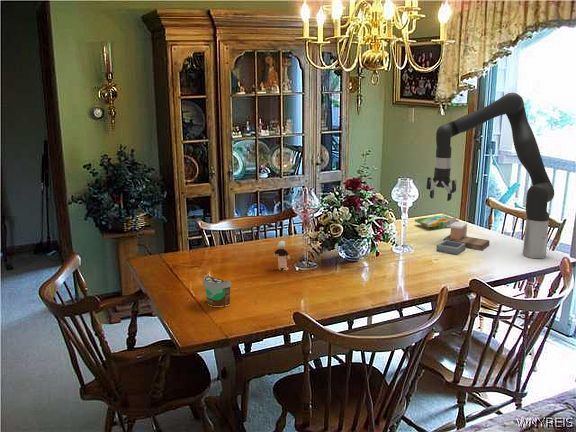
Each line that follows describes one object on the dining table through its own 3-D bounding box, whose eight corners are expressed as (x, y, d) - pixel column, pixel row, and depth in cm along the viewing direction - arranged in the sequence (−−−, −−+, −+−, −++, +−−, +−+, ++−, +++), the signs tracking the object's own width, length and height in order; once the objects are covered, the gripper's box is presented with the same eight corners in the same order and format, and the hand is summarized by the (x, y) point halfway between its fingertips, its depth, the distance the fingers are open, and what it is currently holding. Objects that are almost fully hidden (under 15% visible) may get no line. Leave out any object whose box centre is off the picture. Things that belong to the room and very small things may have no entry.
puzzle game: (458, 218, 297) (428, 223, 290) (458, 227, 298) (427, 231, 291) (444, 213, 308) (414, 217, 300) (444, 221, 309) (414, 226, 301)
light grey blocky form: (466, 236, 272) (467, 219, 270) (460, 240, 266) (461, 222, 263) (452, 234, 276) (453, 217, 274) (446, 238, 270) (447, 220, 268)
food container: (196, 303, 204) (195, 278, 202) (208, 298, 209) (207, 273, 206) (220, 312, 197) (219, 286, 194) (232, 306, 202) (231, 280, 199)
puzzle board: (489, 245, 267) (489, 240, 266) (482, 250, 259) (482, 245, 259) (451, 238, 278) (451, 233, 277) (443, 243, 270) (443, 238, 270)
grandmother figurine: (291, 268, 239) (291, 240, 236) (289, 271, 236) (289, 243, 232) (274, 266, 241) (274, 239, 238) (272, 269, 238) (271, 241, 234)
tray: (465, 249, 261) (465, 243, 260) (457, 255, 253) (457, 249, 253) (444, 245, 267) (445, 239, 266) (436, 251, 259) (436, 245, 258)
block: (462, 242, 272) (463, 226, 270) (458, 244, 268) (459, 228, 266) (453, 240, 275) (454, 225, 272) (449, 243, 271) (450, 227, 269)
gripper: (460, 167, 265) (457, 200, 269) (431, 163, 274) (429, 196, 278) (454, 169, 259) (451, 203, 264) (425, 166, 268) (423, 198, 272)
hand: (440, 199), depth 271 cm, fingers open, 8 cm apart
